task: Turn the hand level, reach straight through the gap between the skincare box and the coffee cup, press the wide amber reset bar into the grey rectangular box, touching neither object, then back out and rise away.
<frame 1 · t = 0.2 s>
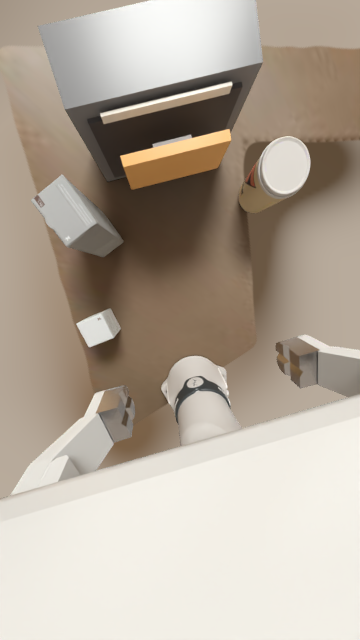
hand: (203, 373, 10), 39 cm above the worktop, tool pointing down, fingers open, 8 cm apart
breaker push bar: (173, 157, 30), point 13 cm above the worktop, slide at 0.0 cm
skincare box: (101, 235, 43), on the worktop
skincare box 2: (105, 322, 48), on the worktop
grey rectangular box: (159, 146, 40), on the worktop
coffee cup: (253, 196, 44), on the worktop
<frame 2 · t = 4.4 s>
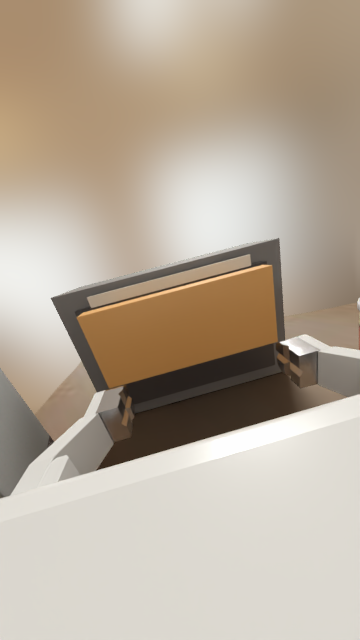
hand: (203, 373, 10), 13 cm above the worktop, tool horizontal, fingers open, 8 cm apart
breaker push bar: (183, 324, 17), point 13 cm above the worktop, slide at 0.0 cm
skincare box: (30, 529, 17), on the worktop
grey rectangular box: (194, 378, 30), on the worktop
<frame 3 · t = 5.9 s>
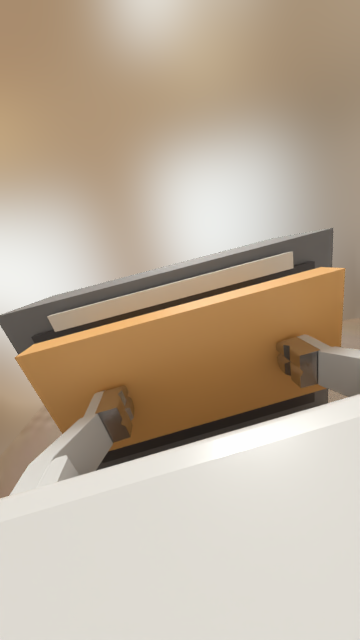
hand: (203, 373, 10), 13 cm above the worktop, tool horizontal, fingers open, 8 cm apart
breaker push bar: (194, 358, 11), point 13 cm above the worktop, slide at 0.7 cm, touching gripper
grey rectangular box: (203, 411, 24), on the worktop
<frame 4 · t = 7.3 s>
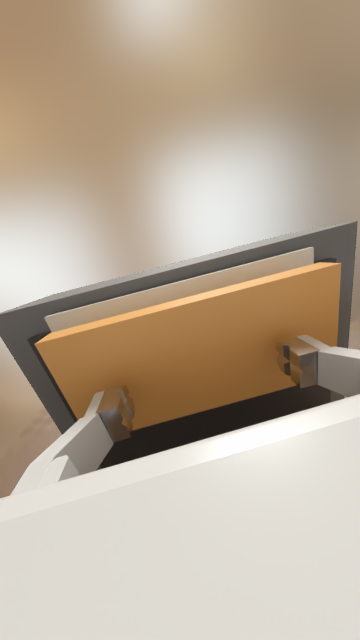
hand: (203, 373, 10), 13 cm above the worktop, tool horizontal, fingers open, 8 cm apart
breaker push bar: (198, 348, 12), point 13 cm above the worktop, slide at 2.7 cm
grey rectangular box: (209, 416, 22), on the worktop
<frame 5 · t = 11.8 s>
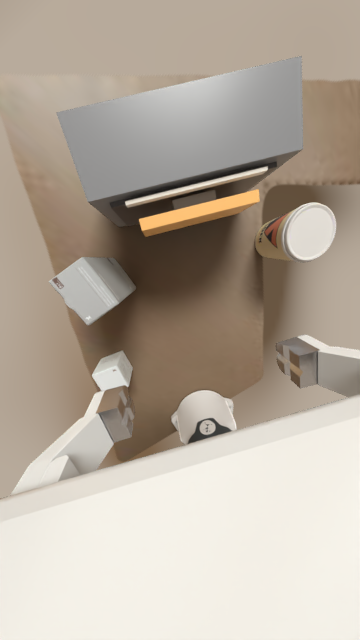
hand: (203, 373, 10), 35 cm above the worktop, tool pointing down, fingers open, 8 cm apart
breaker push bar: (194, 209, 27), point 13 cm above the worktop, slide at 2.7 cm
skincare box: (112, 281, 42), on the worktop
skincare box 2: (117, 363, 48), on the worktop
grey rectangular box: (175, 189, 37), on the worktop
coffee cup: (270, 240, 43), on the worktop
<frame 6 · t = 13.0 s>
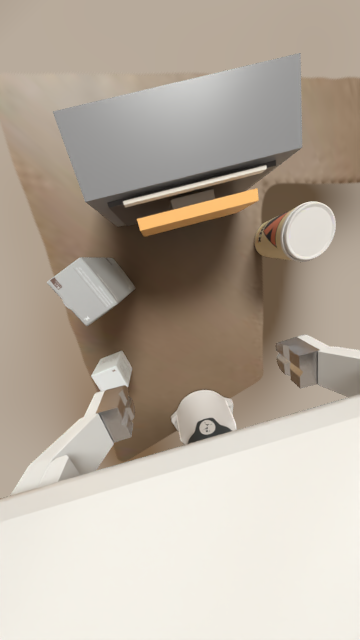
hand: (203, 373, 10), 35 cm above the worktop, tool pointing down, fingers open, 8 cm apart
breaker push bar: (192, 209, 27), point 13 cm above the worktop, slide at 2.7 cm
skincare box: (111, 281, 42), on the worktop
skincare box 2: (117, 363, 48), on the worktop
grey rectangular box: (174, 189, 37), on the worktop
coffee cup: (269, 239, 43), on the worktop
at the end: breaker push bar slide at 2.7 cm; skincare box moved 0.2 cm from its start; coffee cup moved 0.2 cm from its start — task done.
